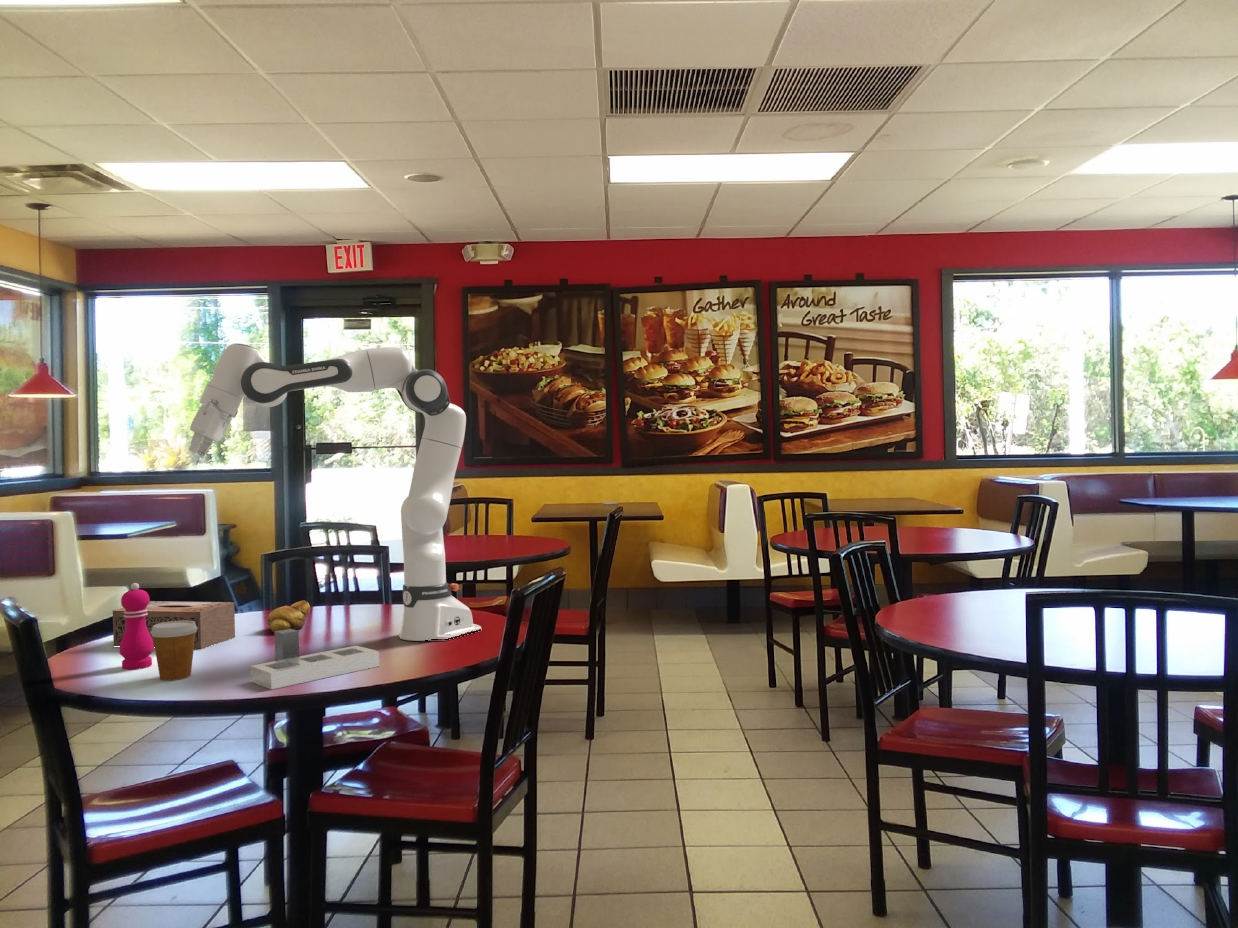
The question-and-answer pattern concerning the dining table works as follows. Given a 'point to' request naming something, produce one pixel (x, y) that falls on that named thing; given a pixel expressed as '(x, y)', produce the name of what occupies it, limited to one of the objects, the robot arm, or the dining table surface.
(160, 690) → the dining table surface
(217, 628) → the tissue box cover
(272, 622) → the bread roll
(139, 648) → the pepper mill
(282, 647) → the peg
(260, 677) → the rail
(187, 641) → the disposable coffee cup
